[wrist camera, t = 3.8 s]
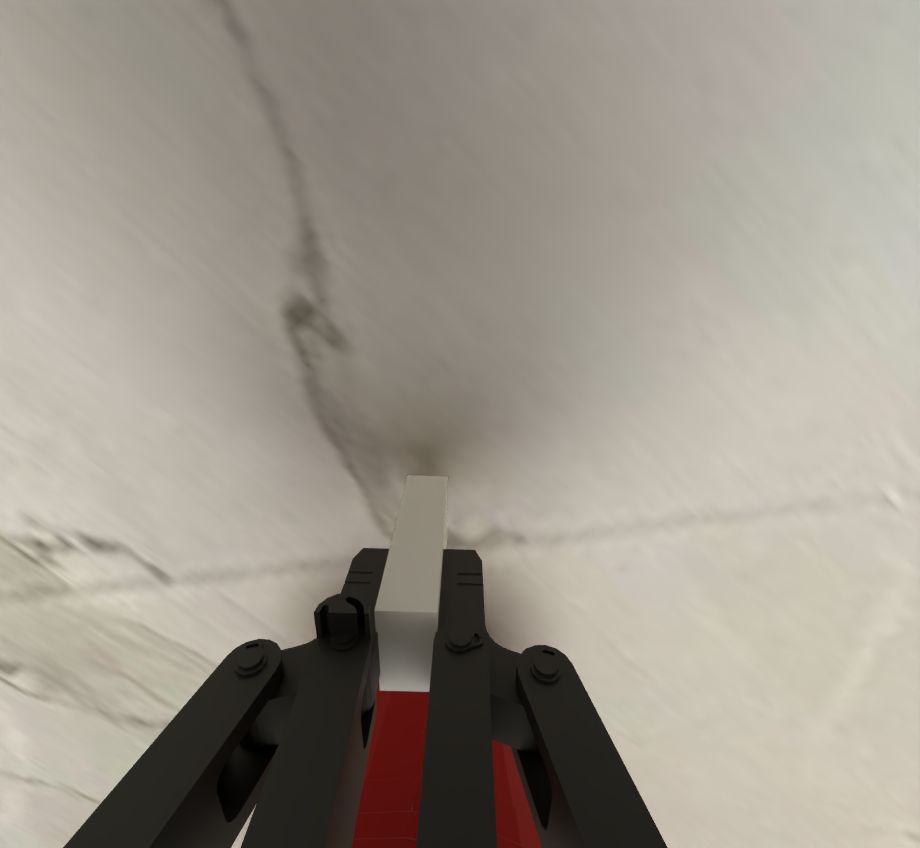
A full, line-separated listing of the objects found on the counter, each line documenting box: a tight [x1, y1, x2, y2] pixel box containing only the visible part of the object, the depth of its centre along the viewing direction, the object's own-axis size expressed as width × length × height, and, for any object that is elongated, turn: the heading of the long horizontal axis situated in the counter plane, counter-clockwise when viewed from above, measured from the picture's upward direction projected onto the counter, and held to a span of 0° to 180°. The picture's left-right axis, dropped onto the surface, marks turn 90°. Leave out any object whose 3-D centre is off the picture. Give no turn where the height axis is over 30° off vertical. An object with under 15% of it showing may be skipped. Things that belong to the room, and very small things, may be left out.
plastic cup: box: [351, 683, 542, 848], centre depth 19 cm, size 11×11×12 cm
